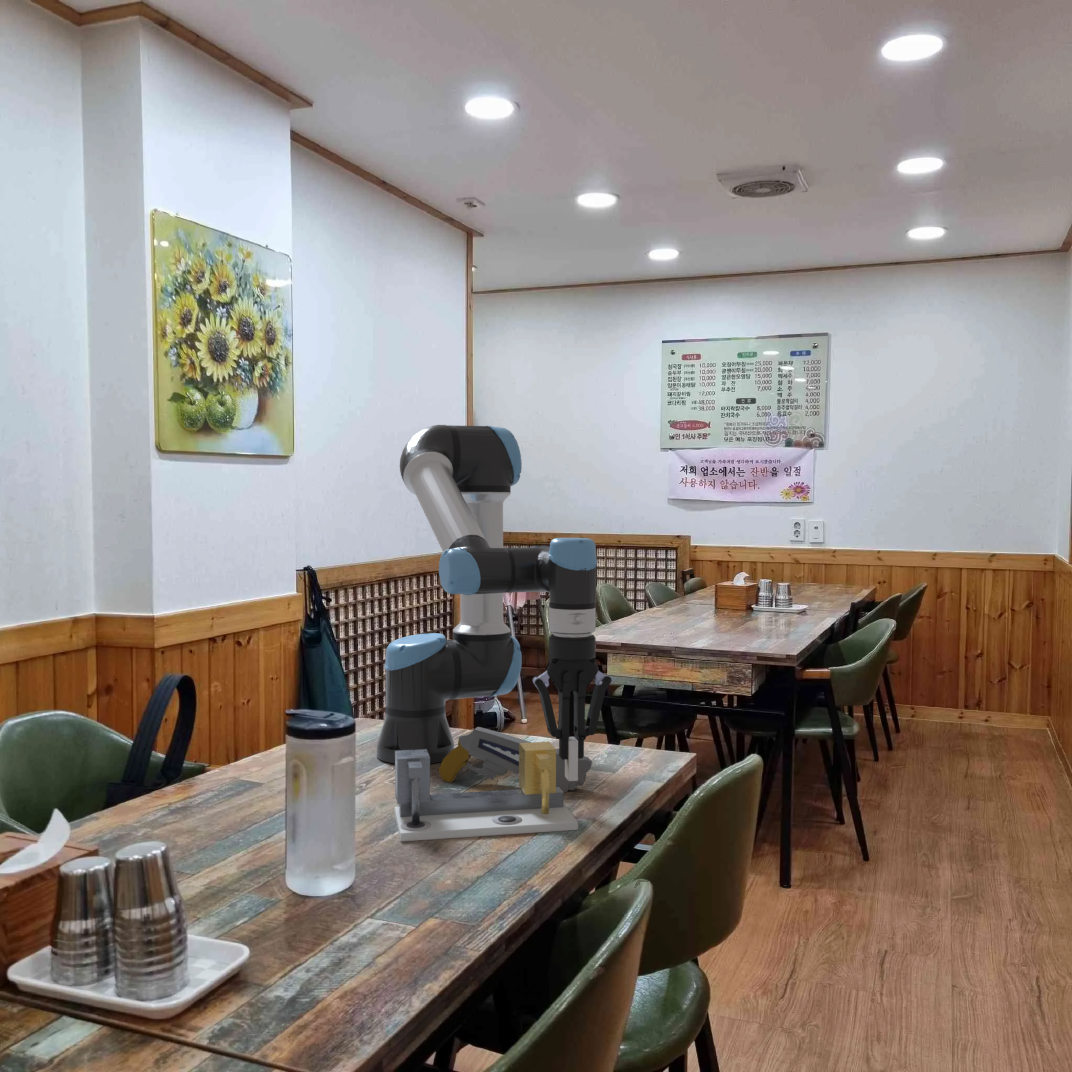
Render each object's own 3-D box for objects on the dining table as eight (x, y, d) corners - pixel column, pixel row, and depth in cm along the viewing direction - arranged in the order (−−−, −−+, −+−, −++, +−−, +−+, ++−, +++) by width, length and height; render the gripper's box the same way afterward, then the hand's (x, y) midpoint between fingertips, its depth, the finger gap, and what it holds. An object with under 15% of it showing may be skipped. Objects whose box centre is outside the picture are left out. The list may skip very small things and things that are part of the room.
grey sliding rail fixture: (395, 809, 160) (395, 750, 159) (557, 799, 165) (558, 743, 165) (399, 828, 151) (399, 766, 150) (571, 817, 156) (571, 757, 156)
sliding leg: (518, 797, 164) (519, 743, 163) (548, 796, 165) (549, 741, 164) (530, 815, 155) (530, 757, 154) (561, 813, 156) (562, 755, 155)
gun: (558, 841, 174) (591, 764, 172) (433, 778, 179) (463, 702, 177) (562, 835, 177) (594, 759, 175) (439, 773, 182) (468, 699, 180)
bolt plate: (394, 813, 161) (394, 805, 161) (558, 804, 167) (558, 795, 167) (400, 841, 148) (400, 832, 148) (577, 829, 154) (578, 820, 154)
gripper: (537, 638, 157) (536, 787, 158) (617, 636, 160) (616, 782, 161) (527, 631, 164) (527, 774, 165) (604, 629, 167) (603, 770, 168)
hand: (571, 778), depth 163 cm, fingers closed
